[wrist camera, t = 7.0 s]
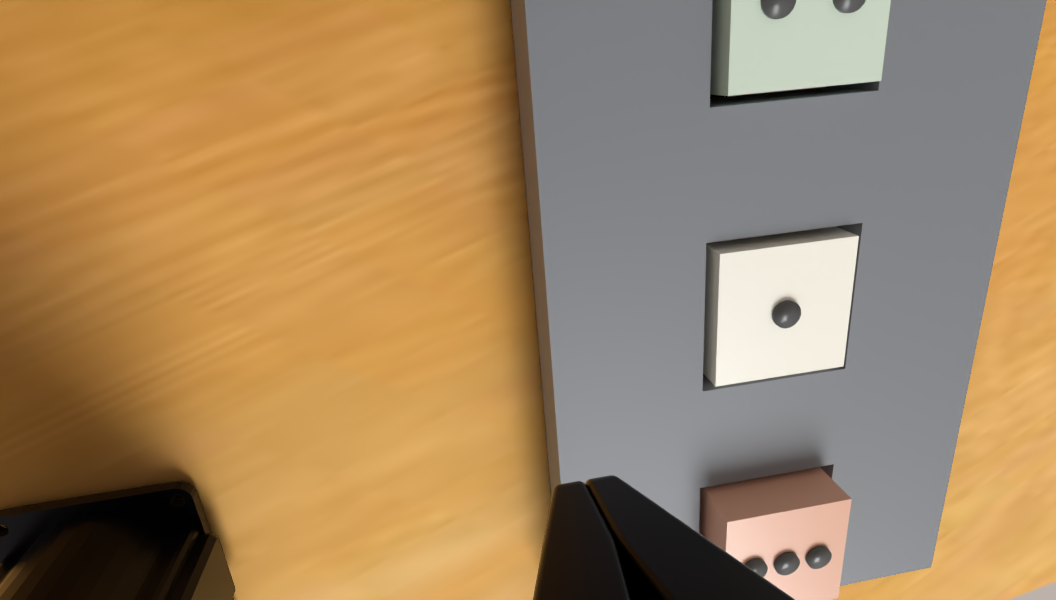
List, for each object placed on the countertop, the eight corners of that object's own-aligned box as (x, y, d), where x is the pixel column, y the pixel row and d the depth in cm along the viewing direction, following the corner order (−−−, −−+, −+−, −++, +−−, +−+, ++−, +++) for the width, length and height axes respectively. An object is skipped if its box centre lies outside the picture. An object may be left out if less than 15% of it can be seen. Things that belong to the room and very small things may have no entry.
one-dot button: (685, 353, 22) (717, 388, 20) (686, 233, 21) (722, 255, 18) (800, 335, 23) (846, 368, 21) (811, 217, 21) (862, 237, 19)
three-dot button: (694, 569, 25) (724, 625, 22) (696, 476, 23) (729, 525, 21) (799, 549, 25) (840, 601, 23) (809, 456, 24) (854, 501, 21)
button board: (558, 589, 26) (572, 640, 24) (500, -116, 17) (514, -145, 14) (888, 525, 28) (931, 567, 25) (999, -142, 19) (1081, -171, 16)
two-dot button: (690, 91, 19) (730, 96, 17) (693, -78, 17) (737, -100, 15) (826, 78, 20) (884, 81, 17) (841, -87, 18) (908, -110, 16)
